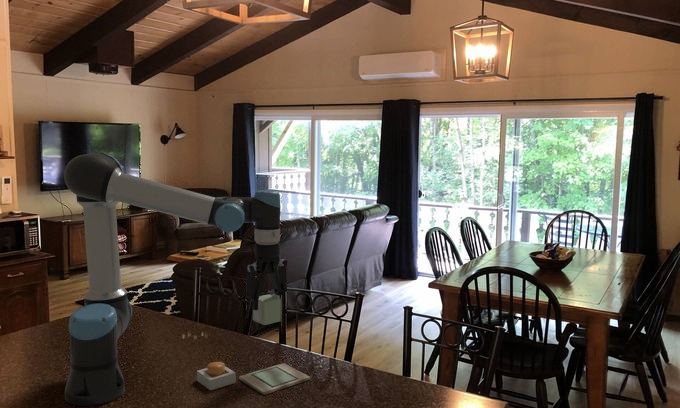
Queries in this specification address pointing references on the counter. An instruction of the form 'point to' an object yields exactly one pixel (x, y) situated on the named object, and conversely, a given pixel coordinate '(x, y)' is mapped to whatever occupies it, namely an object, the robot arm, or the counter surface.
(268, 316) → the sage block
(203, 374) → the button housing
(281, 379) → the beige flat rectangular board
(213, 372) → the button
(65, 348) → the counter surface
